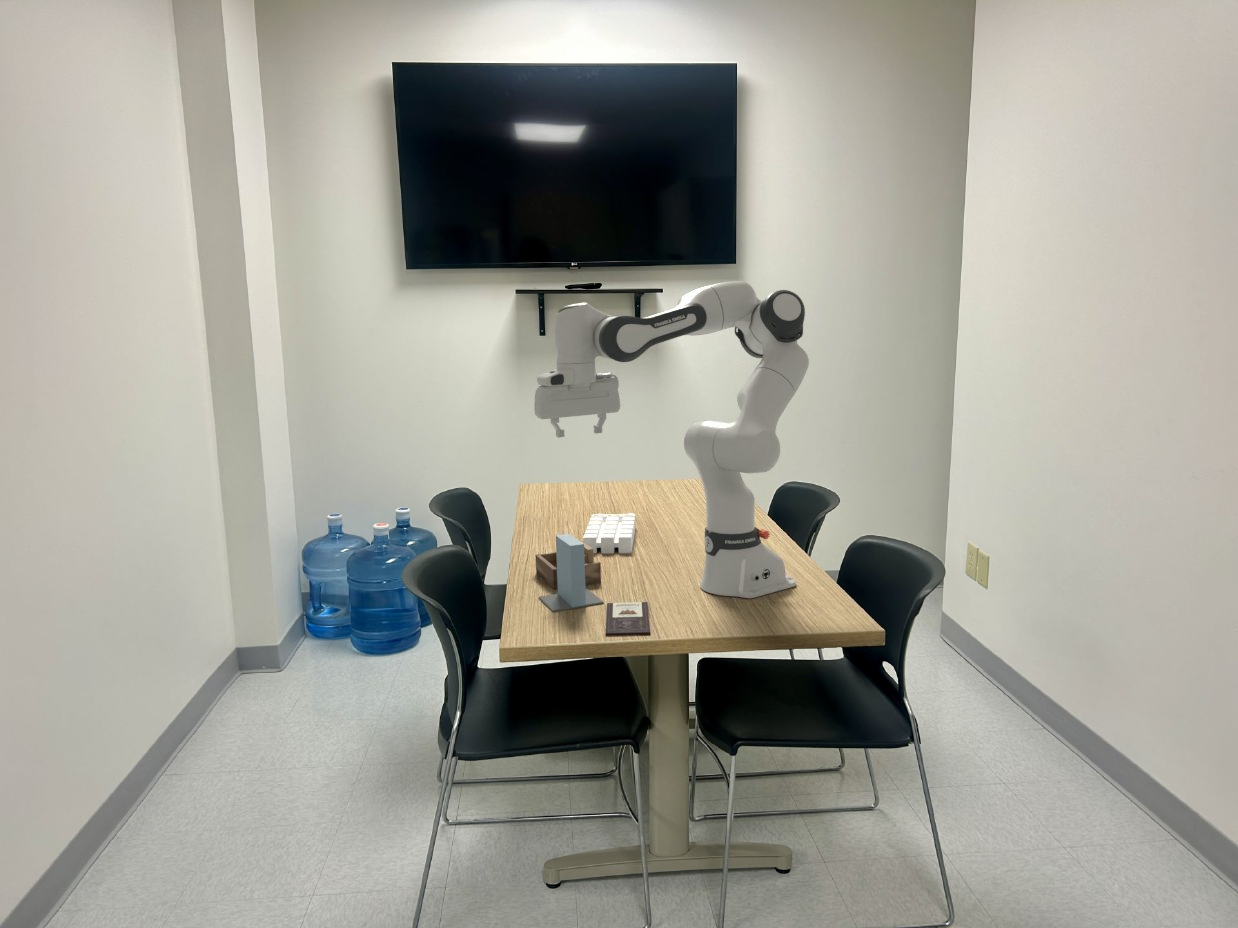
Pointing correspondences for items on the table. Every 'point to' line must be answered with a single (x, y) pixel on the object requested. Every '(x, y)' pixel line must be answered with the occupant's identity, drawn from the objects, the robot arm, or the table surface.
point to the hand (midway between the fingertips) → (579, 435)
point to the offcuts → (588, 554)
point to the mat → (559, 603)
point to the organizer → (611, 532)
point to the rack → (548, 570)
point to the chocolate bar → (627, 619)
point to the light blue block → (571, 570)
